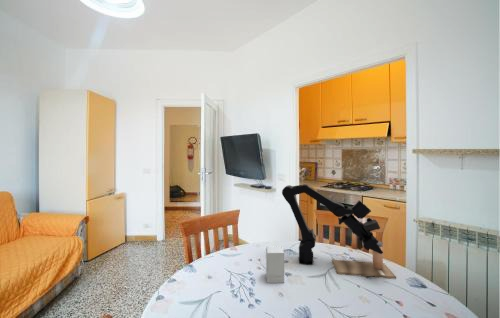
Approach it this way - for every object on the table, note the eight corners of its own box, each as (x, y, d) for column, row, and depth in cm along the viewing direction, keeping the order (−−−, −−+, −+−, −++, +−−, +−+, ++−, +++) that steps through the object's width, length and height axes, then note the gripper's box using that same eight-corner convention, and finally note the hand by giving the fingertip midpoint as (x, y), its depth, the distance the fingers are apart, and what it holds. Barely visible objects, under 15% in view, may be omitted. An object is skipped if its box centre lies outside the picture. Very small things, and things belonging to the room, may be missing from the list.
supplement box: (284, 283, 91) (284, 253, 91) (267, 283, 91) (266, 253, 91) (282, 273, 99) (282, 245, 99) (266, 273, 99) (265, 245, 99)
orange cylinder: (377, 269, 98) (377, 244, 98) (370, 264, 102) (370, 241, 102) (384, 268, 99) (384, 243, 99) (377, 263, 103) (377, 240, 103)
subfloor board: (336, 274, 98) (336, 271, 98) (331, 261, 110) (331, 259, 110) (396, 278, 94) (396, 276, 94) (384, 265, 105) (384, 263, 105)
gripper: (372, 219, 93) (402, 248, 89) (363, 209, 110) (388, 233, 107) (352, 236, 95) (381, 265, 92) (346, 223, 113) (371, 247, 109)
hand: (380, 251), depth 100 cm, fingers closed on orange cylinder, 4 cm apart
